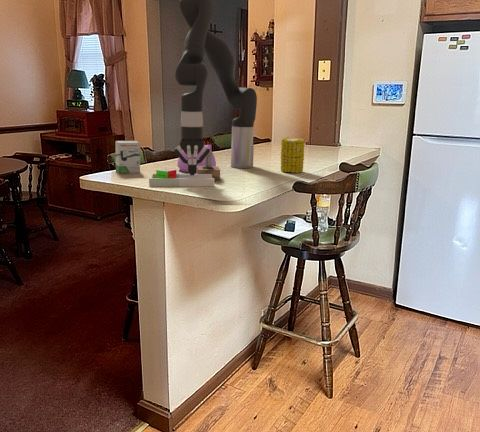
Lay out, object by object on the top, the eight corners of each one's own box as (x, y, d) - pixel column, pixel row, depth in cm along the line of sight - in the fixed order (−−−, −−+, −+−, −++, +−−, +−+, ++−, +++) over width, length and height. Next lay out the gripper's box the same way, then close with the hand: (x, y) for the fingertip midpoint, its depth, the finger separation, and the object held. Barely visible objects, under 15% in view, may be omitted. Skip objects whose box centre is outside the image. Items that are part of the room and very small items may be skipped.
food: (303, 174, 200) (297, 179, 191) (277, 166, 203) (270, 170, 194) (313, 139, 194) (308, 143, 185) (287, 131, 197) (280, 134, 188)
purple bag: (199, 176, 180) (200, 144, 177) (165, 172, 186) (165, 141, 183) (225, 168, 199) (226, 140, 196) (194, 165, 206) (194, 137, 203)
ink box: (118, 173, 180) (117, 142, 177) (115, 171, 184) (114, 140, 181) (141, 172, 184) (140, 141, 181) (137, 170, 188) (136, 140, 185)
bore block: (217, 176, 180) (217, 166, 179) (219, 180, 172) (220, 169, 171) (196, 176, 178) (196, 166, 177) (197, 180, 171) (198, 169, 170)
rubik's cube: (167, 185, 161) (167, 171, 159) (156, 184, 163) (156, 169, 162) (176, 183, 165) (176, 169, 163) (165, 182, 167) (165, 168, 166)
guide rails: (211, 180, 172) (211, 173, 171) (214, 186, 162) (214, 178, 161) (178, 180, 170) (178, 173, 169) (179, 186, 160) (179, 178, 160)
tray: (178, 180, 170) (178, 173, 169) (179, 186, 160) (179, 178, 160) (150, 180, 168) (150, 173, 168) (149, 186, 159) (149, 178, 158)
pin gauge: (211, 178, 177) (211, 151, 174) (211, 179, 174) (212, 152, 172) (204, 178, 176) (205, 151, 174) (205, 179, 174) (205, 152, 171)
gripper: (210, 124, 166) (210, 173, 170) (172, 123, 164) (172, 173, 168) (212, 126, 158) (212, 176, 163) (172, 125, 156) (173, 177, 161)
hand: (192, 175), depth 166 cm, fingers closed
